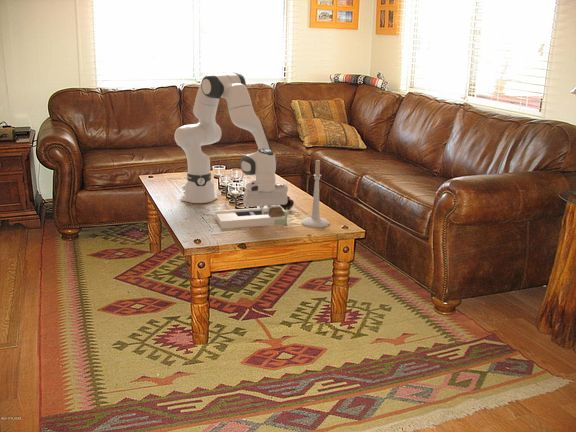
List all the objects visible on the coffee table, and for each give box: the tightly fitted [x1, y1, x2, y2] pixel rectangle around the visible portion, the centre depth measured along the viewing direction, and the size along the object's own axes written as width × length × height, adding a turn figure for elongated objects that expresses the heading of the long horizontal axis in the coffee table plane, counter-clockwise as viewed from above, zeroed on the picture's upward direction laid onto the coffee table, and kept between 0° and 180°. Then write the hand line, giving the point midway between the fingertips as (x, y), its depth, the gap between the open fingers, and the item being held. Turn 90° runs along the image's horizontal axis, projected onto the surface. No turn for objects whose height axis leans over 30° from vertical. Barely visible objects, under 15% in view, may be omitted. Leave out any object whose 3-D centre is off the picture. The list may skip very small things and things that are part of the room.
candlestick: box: [300, 159, 330, 229], centre depth 280 cm, size 13×13×30 cm
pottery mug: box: [280, 195, 295, 212], centre depth 303 cm, size 12×10×8 cm
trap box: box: [214, 205, 288, 230], centre depth 284 cm, size 16×30×6 cm, turn 107°
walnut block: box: [269, 205, 282, 217], centre depth 283 cm, size 5×5×4 cm
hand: (265, 214), depth 282 cm, fingers closed
